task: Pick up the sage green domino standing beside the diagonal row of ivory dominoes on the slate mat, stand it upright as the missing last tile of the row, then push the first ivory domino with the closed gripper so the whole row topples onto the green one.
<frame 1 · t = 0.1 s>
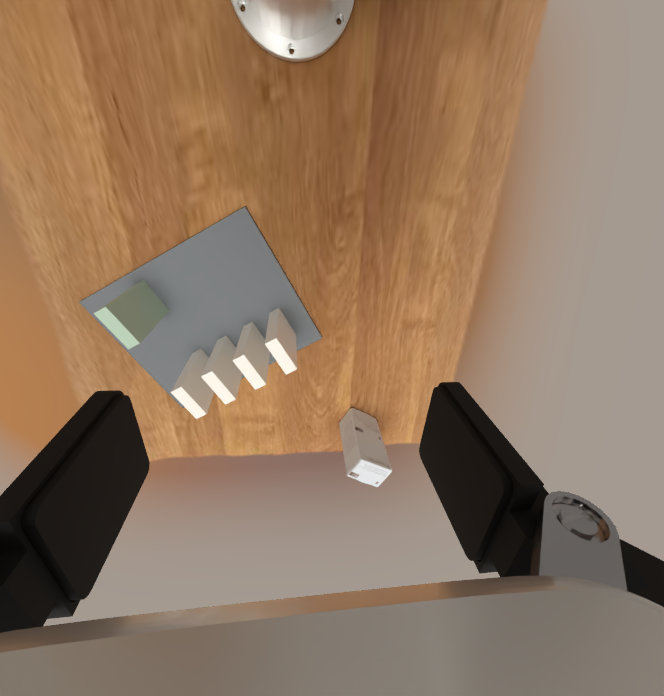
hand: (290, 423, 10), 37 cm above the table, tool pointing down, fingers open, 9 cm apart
domino 1: (283, 323, 48), resting on slate mat
skincare box: (356, 419, 59), on the table
domino 2: (257, 337, 48), resting on slate mat
domino end: (152, 298, 44), resting on slate mat
slate mat: (210, 320, 46), on the table
domino 4: (207, 363, 49), resting on slate mat
domino 3: (231, 350, 49), resting on slate mat
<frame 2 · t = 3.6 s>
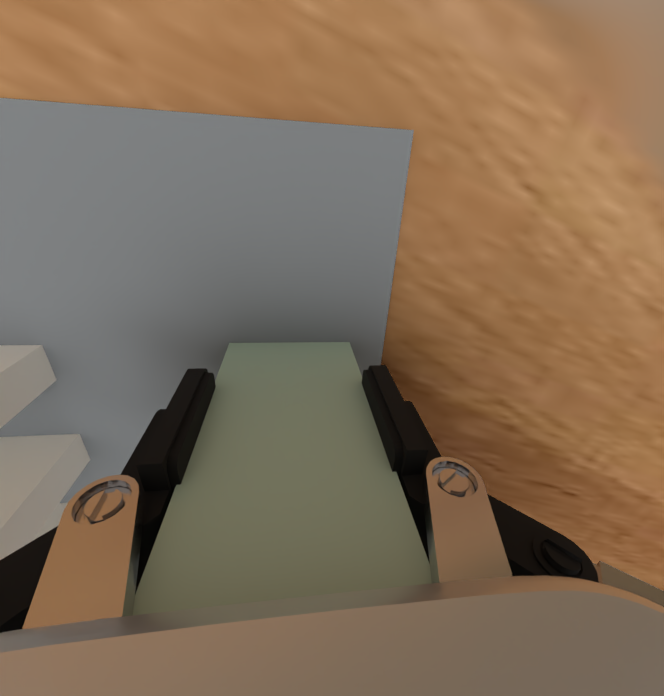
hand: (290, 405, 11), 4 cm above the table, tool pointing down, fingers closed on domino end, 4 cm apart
domino 2: (59, 513, 16), resting on slate mat
domino end: (291, 358, 14), resting on slate mat, touching gripper
slate mat: (157, 438, 15), on the table
domino 3: (24, 449, 14), resting on slate mat
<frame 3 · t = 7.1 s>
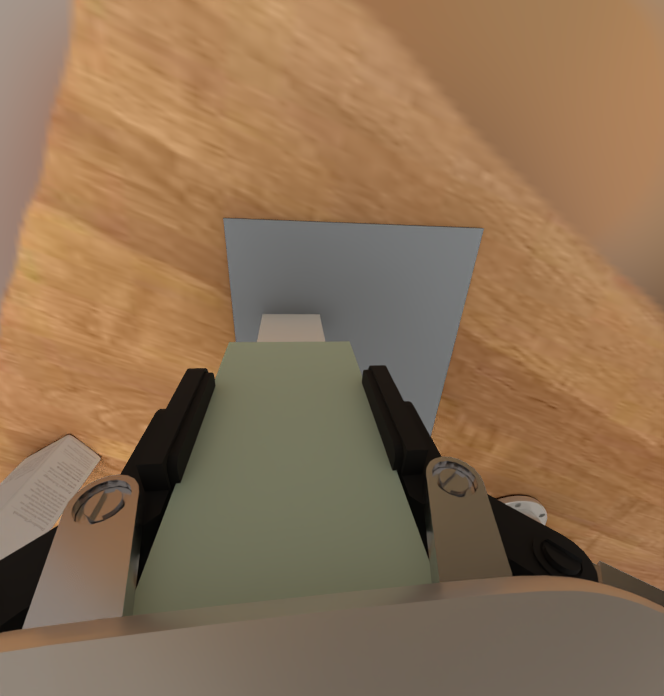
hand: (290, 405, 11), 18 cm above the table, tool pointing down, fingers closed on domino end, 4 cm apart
skincare box: (66, 454, 33), on the table
domino end: (290, 358, 14), point 15 cm above the table, touching gripper
slate mat: (347, 362, 32), on the table
domino 4: (291, 322, 29), resting on slate mat
when the fingers open (4 cm above the table, at t = 10.6 s): domino end stays where it is, resting on slate mat.
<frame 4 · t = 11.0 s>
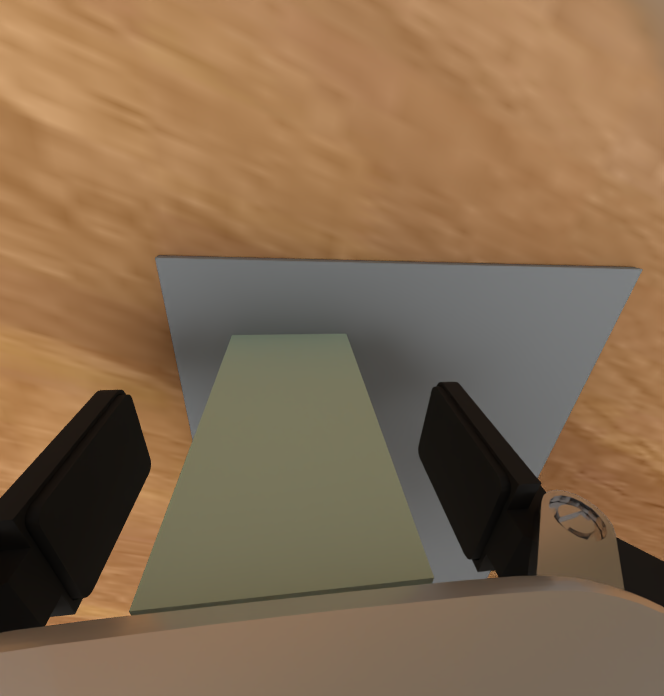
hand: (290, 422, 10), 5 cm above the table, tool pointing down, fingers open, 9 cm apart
domino end: (290, 350, 14), resting on slate mat
slate mat: (382, 474, 20), on the table
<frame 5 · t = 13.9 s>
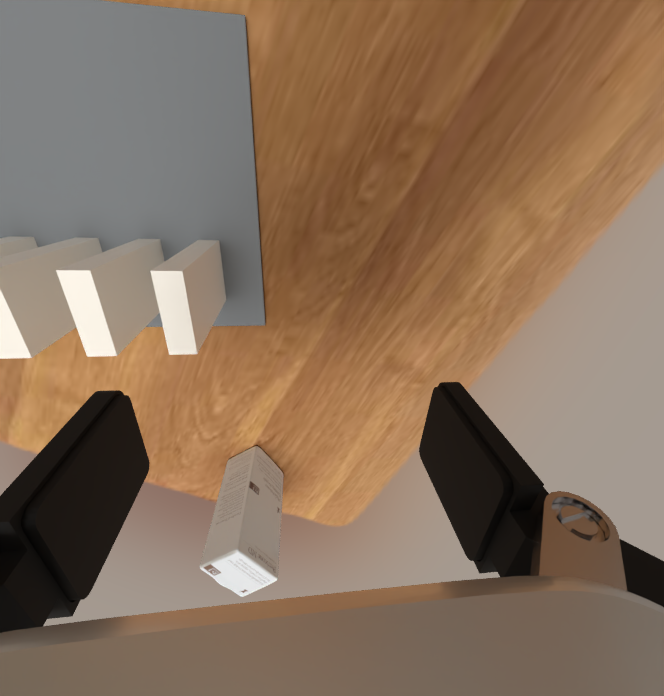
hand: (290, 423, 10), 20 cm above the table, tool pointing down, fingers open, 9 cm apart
domino 1: (212, 271, 27), resting on slate mat
skincare box: (255, 464, 38), on the table
domino 2: (156, 270, 26), resting on slate mat
slate mat: (77, 194, 23), on the table
domino 4: (35, 269, 25), resting on slate mat
domino 3: (96, 270, 26), resting on slate mat
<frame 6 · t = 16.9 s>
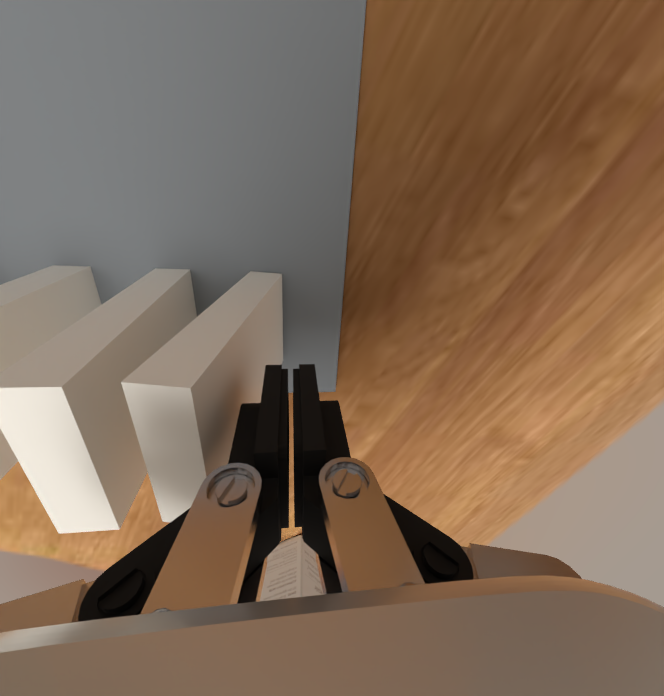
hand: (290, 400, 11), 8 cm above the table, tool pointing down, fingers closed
domino 1: (267, 318, 17), point 1 cm above the table, tilted 10°, touching slate mat
skincare box: (296, 554, 29), on the table
domino 2: (181, 316, 17), resting on slate mat
slate mat: (55, 195, 14), on the table
domino 3: (87, 315, 16), resting on slate mat
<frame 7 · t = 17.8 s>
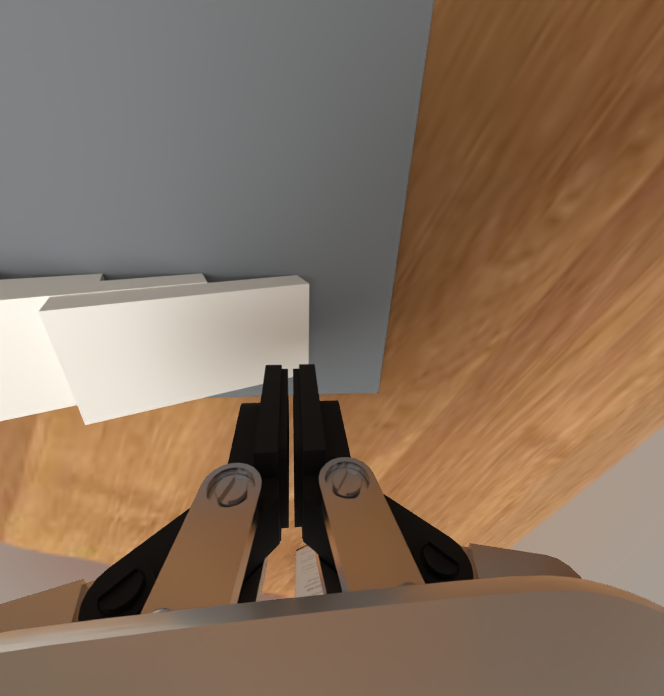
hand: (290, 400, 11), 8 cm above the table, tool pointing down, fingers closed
domino 1: (302, 325, 17), point 1 cm above the table, tilted 69°, touching domino 2, slate mat
skincare box: (328, 553, 29), on the table
domino 2: (211, 325, 16), point 1 cm above the table, tilted 69°, touching domino 1, domino 3, slate mat
slate mat: (120, 203, 14), on the table
domino 3: (115, 327, 16), point 1 cm above the table, tilted 69°, touching domino 2, domino 4, slate mat
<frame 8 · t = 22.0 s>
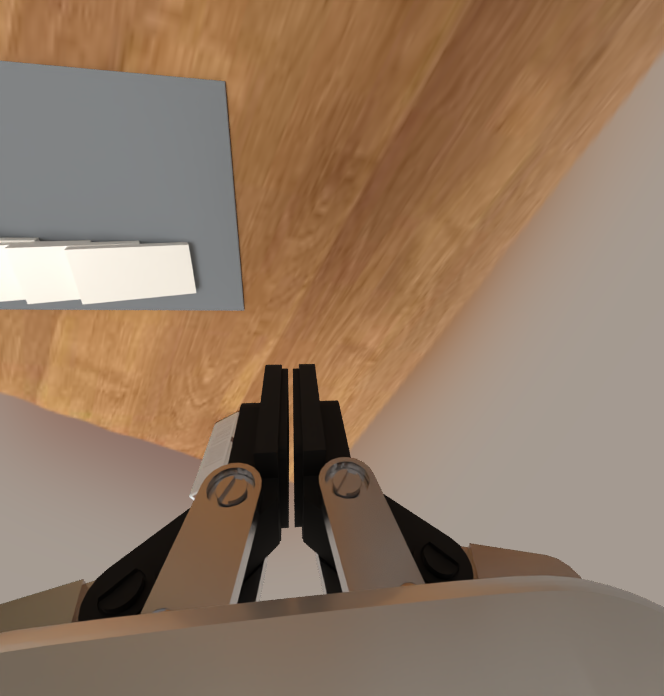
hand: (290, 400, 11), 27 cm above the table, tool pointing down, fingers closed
domino 1: (191, 267, 34), point 1 cm above the table, tilted 69°, touching domino 2, slate mat
skincare box: (238, 428, 46), on the table
domino 2: (144, 267, 33), point 1 cm above the table, tilted 69°, touching domino 1, domino 3, slate mat
slate mat: (98, 207, 31), on the table
domino 3: (97, 267, 32), point 1 cm above the table, tilted 69°, touching domino 2, domino 4, slate mat
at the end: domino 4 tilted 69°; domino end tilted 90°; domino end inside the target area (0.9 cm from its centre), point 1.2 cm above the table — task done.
